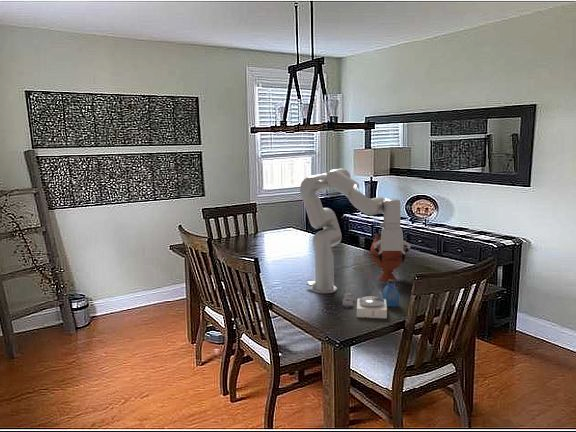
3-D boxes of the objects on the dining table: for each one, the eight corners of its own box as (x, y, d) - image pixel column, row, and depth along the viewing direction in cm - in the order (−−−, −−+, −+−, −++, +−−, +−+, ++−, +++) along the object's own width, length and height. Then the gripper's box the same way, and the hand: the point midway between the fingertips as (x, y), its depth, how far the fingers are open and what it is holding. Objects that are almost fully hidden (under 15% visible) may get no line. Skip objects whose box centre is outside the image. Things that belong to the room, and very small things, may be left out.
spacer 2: (342, 307, 219) (342, 301, 219) (342, 303, 224) (342, 297, 224) (353, 308, 219) (353, 301, 218) (353, 304, 224) (353, 298, 223)
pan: (359, 306, 208) (359, 304, 207) (359, 297, 218) (359, 295, 218) (384, 307, 206) (384, 305, 206) (383, 298, 216) (383, 296, 216)
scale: (356, 317, 207) (356, 308, 206) (357, 306, 220) (357, 297, 219) (386, 319, 205) (386, 309, 204) (385, 307, 218) (385, 298, 217)
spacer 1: (343, 302, 226) (343, 296, 226) (343, 298, 231) (343, 292, 231) (353, 302, 225) (353, 296, 225) (353, 299, 230) (353, 293, 230)
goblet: (412, 278, 259) (413, 234, 254) (391, 286, 246) (392, 240, 242) (384, 271, 273) (385, 229, 269) (363, 279, 261) (363, 235, 256)
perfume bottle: (395, 301, 225) (396, 277, 223) (399, 306, 219) (399, 281, 217) (382, 302, 225) (383, 278, 223) (385, 307, 219) (386, 282, 217)
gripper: (372, 227, 213) (372, 263, 216) (412, 227, 210) (411, 264, 213) (372, 224, 221) (372, 259, 224) (410, 224, 218) (410, 259, 221)
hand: (391, 261), depth 218 cm, fingers open, 9 cm apart
